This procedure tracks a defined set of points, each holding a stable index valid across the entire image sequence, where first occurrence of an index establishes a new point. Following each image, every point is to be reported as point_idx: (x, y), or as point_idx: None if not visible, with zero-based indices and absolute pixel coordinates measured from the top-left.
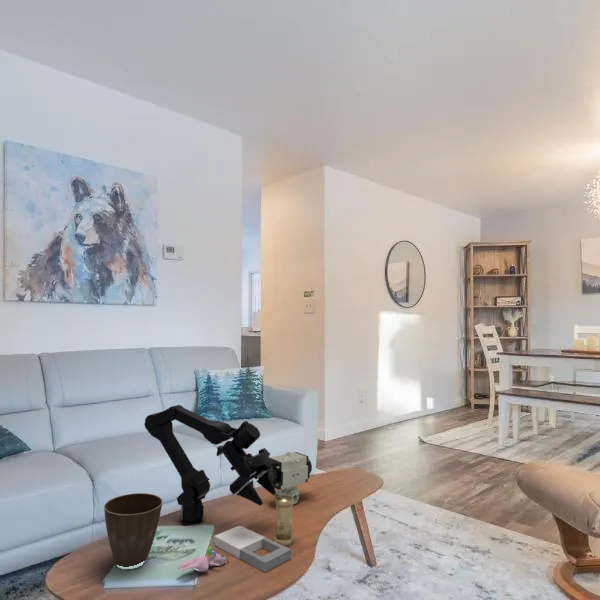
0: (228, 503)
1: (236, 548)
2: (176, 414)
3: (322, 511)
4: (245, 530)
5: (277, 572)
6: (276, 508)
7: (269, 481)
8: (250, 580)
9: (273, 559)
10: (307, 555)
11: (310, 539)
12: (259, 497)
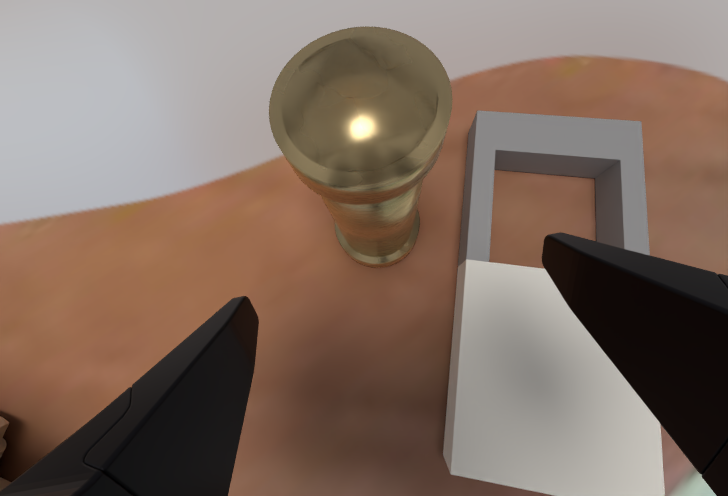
0: None
1: None
2: None
3: (31, 259)
4: (477, 397)
5: (578, 113)
6: (410, 190)
7: (159, 416)
8: (696, 150)
9: (587, 119)
10: None
11: None
12: (606, 257)
